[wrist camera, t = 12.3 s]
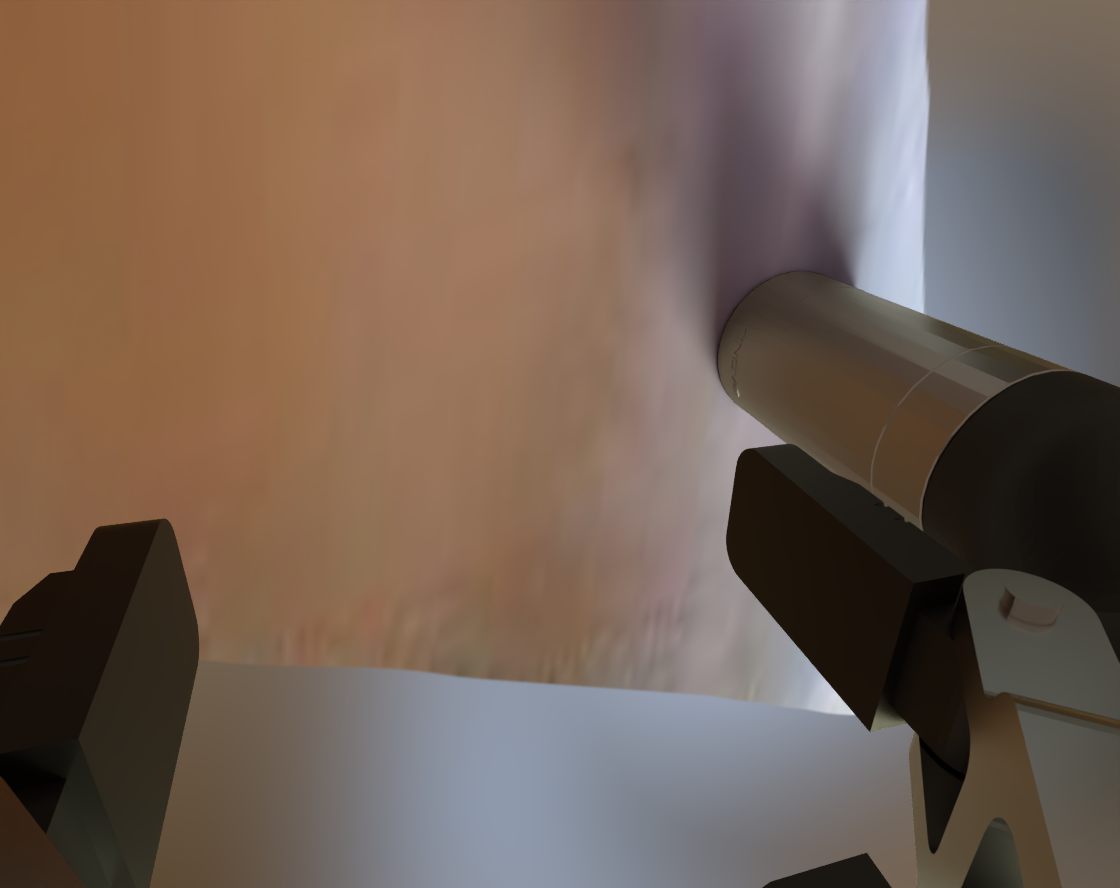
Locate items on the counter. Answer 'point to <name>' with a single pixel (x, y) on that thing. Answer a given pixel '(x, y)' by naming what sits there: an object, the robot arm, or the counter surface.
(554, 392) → the counter surface
